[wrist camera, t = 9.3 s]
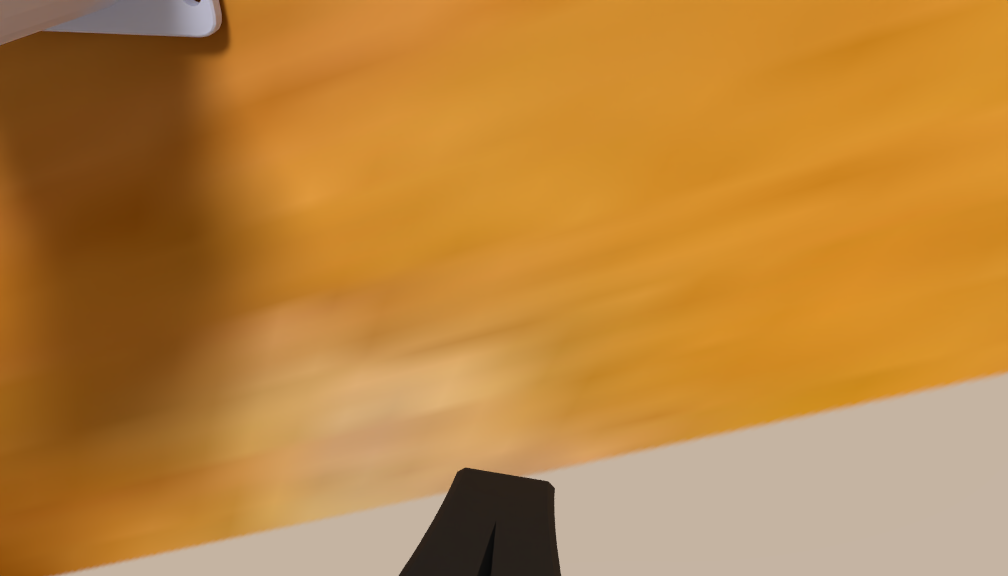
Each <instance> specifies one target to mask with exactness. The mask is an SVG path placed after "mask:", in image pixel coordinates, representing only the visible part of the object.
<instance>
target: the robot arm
mask: <svg viewBox="0 0 1008 576" xmlns="http://www.w3.org/2000/svg"><path fill="white" fill-rule="evenodd" d="M221 23H222V13H221V9H220V4H219V0H201V1H200V2H196V1H195V0H0V45H2V44H5V43H8V42H11V41H14V40H17V39H19V38H22V37H25V36H28V35H31V34H34V33H36V32H39V31H58V32H83V33H107V34H131V35H155V36H180V37H206V36H209V35H211V34H213V33H215V32H216V31H217V30H218V29H219V28H220V26H221ZM554 493H555V488H554V487H553V486H552V485H551V484H550V483H549V482H548V481H542V480H536V479H530V478H524V477H518V476H512V475H506V474H500V473H494V472H488V471H482V470H476V469H470V468H464V469H462V470H460V471H458V472H457V474H456V476H455V478H454V481H453V483H452V485H451V487H450V489H449V491H448V493H447V495H446V497H445V499H444V501H443V504H442V505H441V507H440V509H439V511H438V513H437V514H436V516H435V518H434V520H433V522H432V523H431V525H430V527H429V529H428V530H427V532H426V533H425V535H424V537H423V538H422V540H421V542H420V544H419V545H418V547H417V549H416V550H415V552H414V553H413V555H412V557H411V558H410V559H409V561H408V562H407V564H406V565H405V567H404V568H403V570H402V571H401V573H400V575H399V576H561V573H560V565H559V558H558V550H557V542H556V532H555V517H554Z"/></svg>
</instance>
